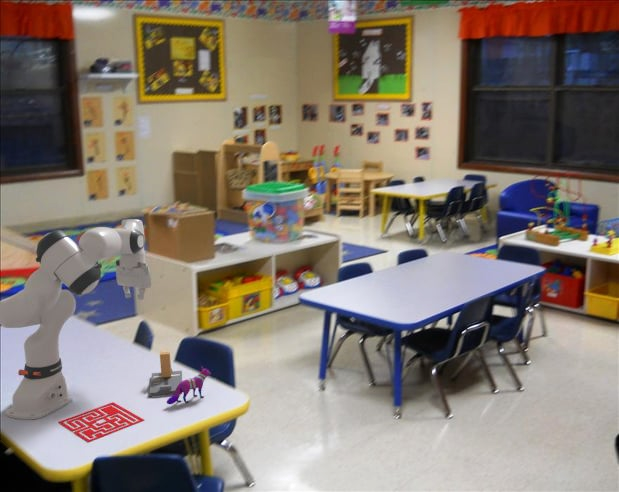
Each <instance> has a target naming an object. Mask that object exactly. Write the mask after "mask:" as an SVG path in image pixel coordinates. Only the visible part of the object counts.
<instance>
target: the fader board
mask: <svg viewBox="0 0 619 492" xmlns="http://www.w3.org/2000/svg"><path fill="white" fill-rule="evenodd" d="M182 372H183V371H182V370H173V368H172V367H171V377H164V378H162V376H161V372H154V373H153V372H152V373H151V377H150V378H151V379H150V386H149V388H150V389H149V398H154V397H164V396H165V397H166V396H173V394H174V392H175V390H176V388H177V386H178V385H179V383H180V382H182V381H183V373H182ZM182 394H183V392H182V393H181V394H180V395H182Z"/></svg>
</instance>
